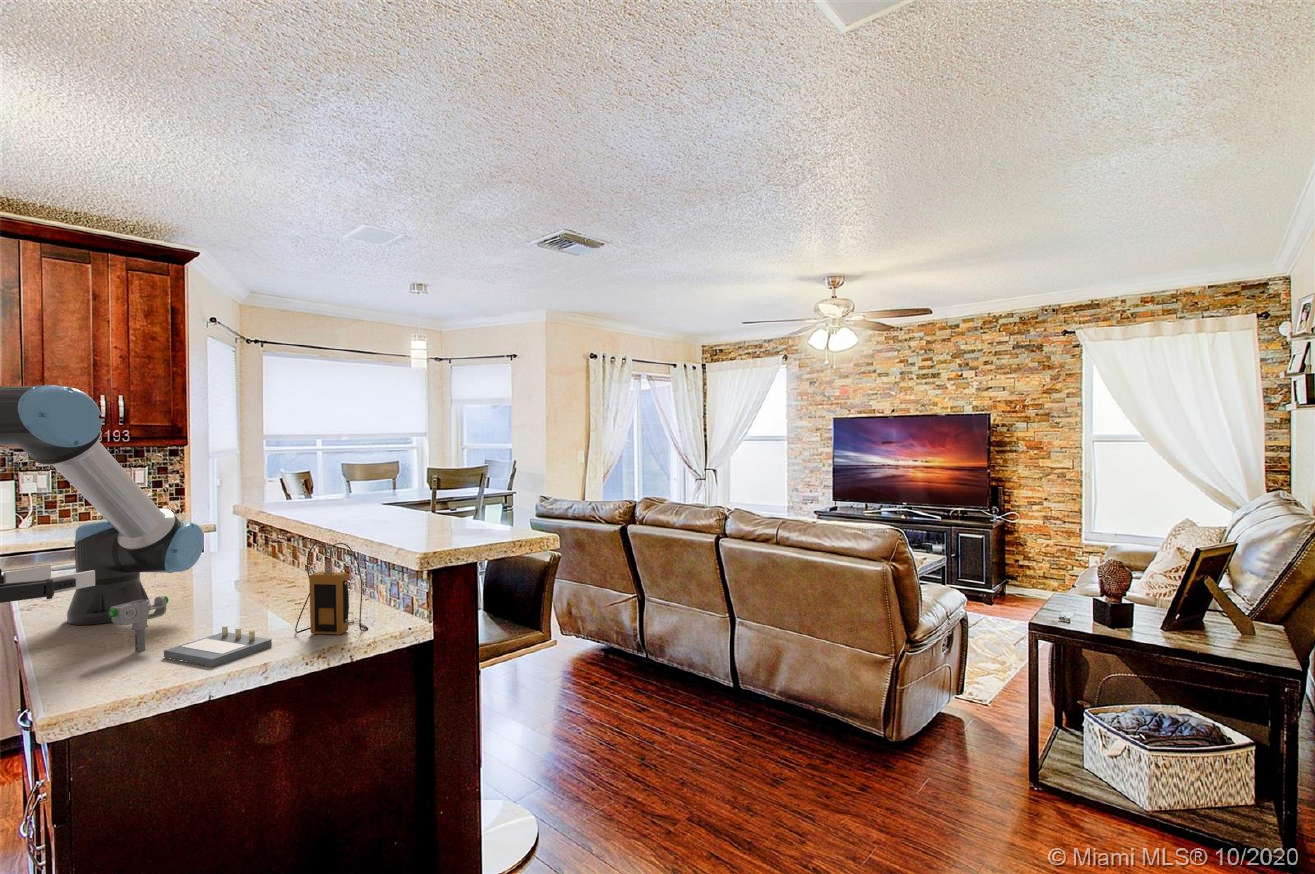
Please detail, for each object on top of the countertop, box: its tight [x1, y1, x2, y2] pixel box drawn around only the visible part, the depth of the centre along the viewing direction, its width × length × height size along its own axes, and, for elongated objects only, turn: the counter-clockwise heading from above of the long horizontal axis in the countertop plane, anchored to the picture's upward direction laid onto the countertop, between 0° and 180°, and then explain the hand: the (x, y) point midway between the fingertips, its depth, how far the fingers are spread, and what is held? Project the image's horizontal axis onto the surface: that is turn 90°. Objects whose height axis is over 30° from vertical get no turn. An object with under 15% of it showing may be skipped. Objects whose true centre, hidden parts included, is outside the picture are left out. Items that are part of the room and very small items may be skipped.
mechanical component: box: [108, 595, 169, 652], centre depth 130 cm, size 3×10×10 cm, turn 161°
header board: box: [163, 625, 273, 668], centre depth 129 cm, size 14×12×4 cm
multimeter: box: [294, 541, 369, 636], centre depth 144 cm, size 15×10×20 cm
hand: (71, 575), depth 119 cm, fingers open, 13 cm apart
